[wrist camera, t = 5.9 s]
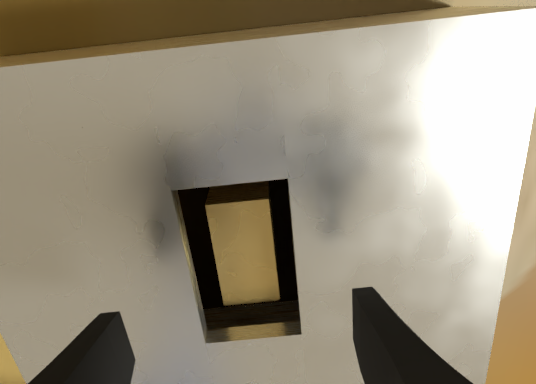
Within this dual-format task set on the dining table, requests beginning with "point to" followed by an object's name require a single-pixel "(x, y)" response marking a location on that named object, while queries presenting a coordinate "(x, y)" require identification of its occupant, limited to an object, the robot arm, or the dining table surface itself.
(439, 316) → the cash box
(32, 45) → the dining table surface
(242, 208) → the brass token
